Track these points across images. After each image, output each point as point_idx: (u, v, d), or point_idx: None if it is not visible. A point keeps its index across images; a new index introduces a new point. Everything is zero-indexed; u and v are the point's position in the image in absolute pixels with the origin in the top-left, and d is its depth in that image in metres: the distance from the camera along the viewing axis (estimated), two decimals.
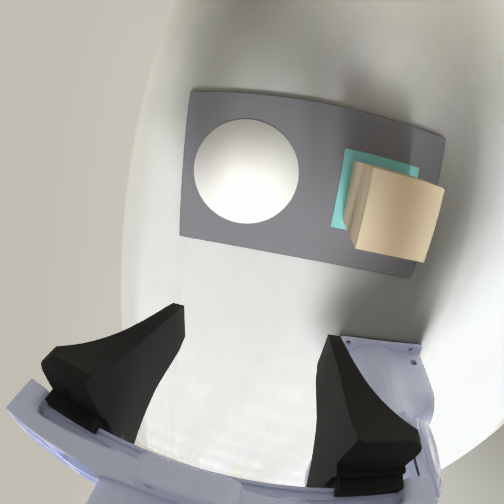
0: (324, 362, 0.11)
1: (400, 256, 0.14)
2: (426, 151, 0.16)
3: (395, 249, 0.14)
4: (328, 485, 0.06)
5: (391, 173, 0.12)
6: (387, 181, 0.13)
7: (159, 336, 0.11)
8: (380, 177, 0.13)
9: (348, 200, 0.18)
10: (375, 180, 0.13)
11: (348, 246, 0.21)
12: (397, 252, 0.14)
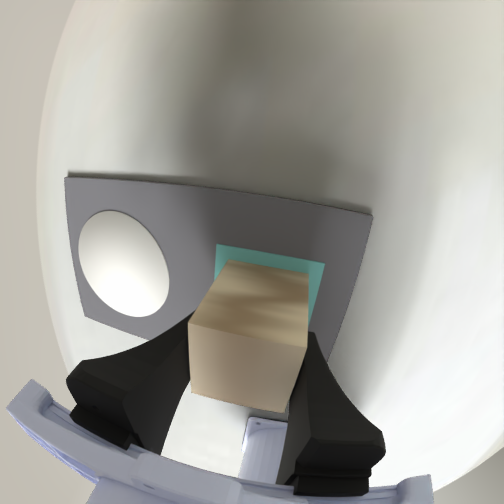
0: None
1: (248, 406, 0.11)
2: (339, 239, 0.14)
3: (239, 400, 0.11)
4: (290, 482, 0.06)
5: (213, 330, 0.10)
6: (210, 339, 0.10)
7: (187, 344, 0.11)
8: (199, 334, 0.10)
9: None
10: (194, 337, 0.10)
11: None
12: (243, 402, 0.11)
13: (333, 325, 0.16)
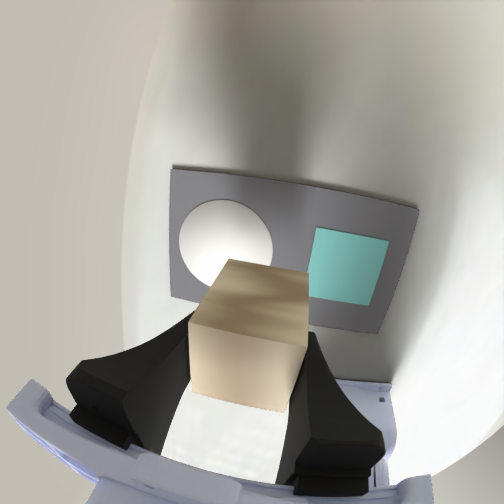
0: None
1: (249, 405, 0.11)
2: (398, 224, 0.19)
3: (240, 399, 0.11)
4: (291, 482, 0.06)
5: (214, 329, 0.10)
6: (210, 338, 0.10)
7: (187, 344, 0.11)
8: (199, 333, 0.10)
9: None
10: (195, 336, 0.10)
11: (319, 310, 0.23)
12: (243, 402, 0.11)
13: (391, 287, 0.21)
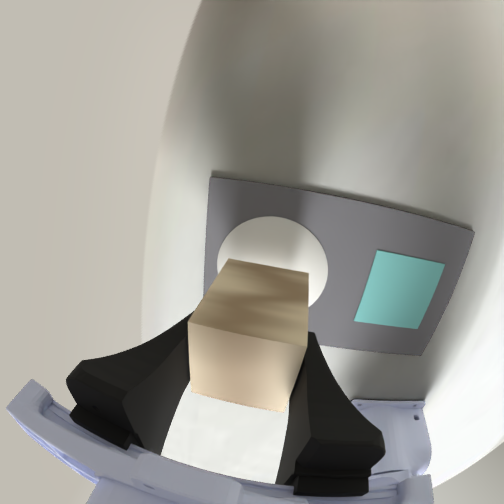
0: None
1: (248, 405, 0.11)
2: (454, 247, 0.16)
3: (239, 399, 0.11)
4: (291, 482, 0.06)
5: (213, 329, 0.10)
6: (210, 337, 0.10)
7: (187, 344, 0.11)
8: (199, 333, 0.10)
9: None
10: (194, 336, 0.10)
11: (368, 335, 0.20)
12: (243, 402, 0.11)
13: (440, 310, 0.18)
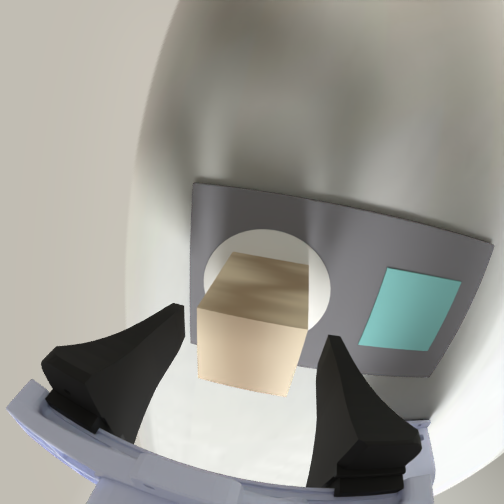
0: (324, 362, 0.11)
1: (253, 390, 0.12)
2: (472, 263, 0.14)
3: (244, 384, 0.12)
4: (328, 485, 0.06)
5: (221, 314, 0.11)
6: (217, 322, 0.11)
7: (159, 336, 0.11)
8: (207, 318, 0.11)
9: None
10: (202, 321, 0.11)
11: (374, 359, 0.18)
12: (248, 386, 0.12)
13: (453, 330, 0.16)
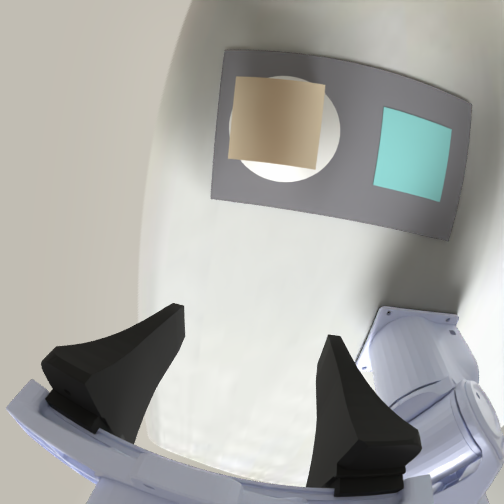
0: (324, 362, 0.11)
1: (282, 163, 0.13)
2: (456, 114, 0.15)
3: (274, 155, 0.13)
4: (328, 485, 0.06)
5: (256, 78, 0.12)
6: (252, 86, 0.12)
7: (159, 336, 0.11)
8: (244, 84, 0.12)
9: None
10: (240, 87, 0.12)
11: (390, 206, 0.19)
12: (277, 158, 0.13)
13: (458, 182, 0.17)
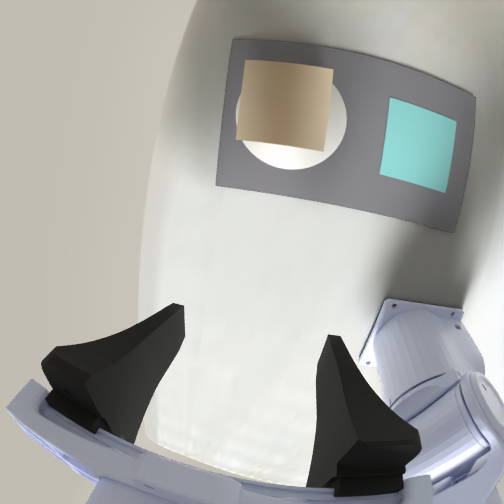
0: (324, 362, 0.11)
1: (290, 144, 0.13)
2: (461, 107, 0.14)
3: (282, 136, 0.13)
4: (328, 485, 0.06)
5: (265, 61, 0.11)
6: (261, 69, 0.12)
7: (159, 336, 0.11)
8: (253, 67, 0.12)
9: None
10: (249, 70, 0.12)
11: (396, 196, 0.18)
12: (285, 140, 0.13)
13: (463, 174, 0.16)
